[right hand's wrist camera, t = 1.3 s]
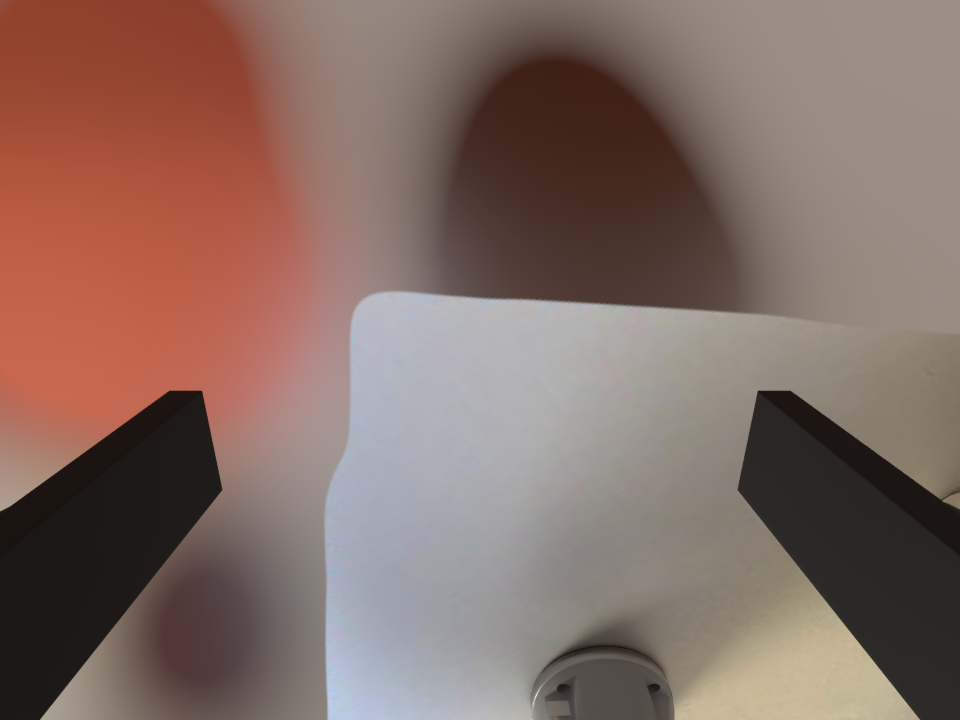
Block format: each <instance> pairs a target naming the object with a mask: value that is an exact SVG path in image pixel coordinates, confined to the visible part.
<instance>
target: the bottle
mask: <svg viewBox="0 0 960 720" xmlns="http://www.w3.org/2000/svg"><path fill="white" fill-rule="evenodd" d="M942 501H943V502H946V503H948V504H950V505H952V506H954V507H956V508H958V509H960V492H959V493H955V494H953V495H950V496H948V497H947V498H945V499H944V500H942Z"/></svg>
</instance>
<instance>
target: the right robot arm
mask: <svg viewBox="0 0 960 720" xmlns="http://www.w3.org/2000/svg"><path fill="white" fill-rule="evenodd" d="M221 491H222V486H221V481H220V476H219V471H218V466H217V461H216V457H215V452H214V447H213V442H212V437H211V432H210V427H209V422H208V417H207V413H206V408H205V403H204V398H203V393H202V391H169V392H167V393H166V394H164V395H163V396H162V397H160V398H159V399H158V400H156V401H155V402H153V403H152V404H151V405H149V406H148V407H147V408H145V409H144V410H142V411H141V412H140V413H138V414H137V415H136V416H134V417H133V418H131V419H130V420H129V421H127V422H126V423H124V424H123V425H122V426H120V427H119V428H118V429H116V430H115V431H114V432H112V433H111V434H109V435H108V436H107V437H105V438H104V439H102V440H101V441H100V442H98V443H97V444H96V445H94V446H93V447H91V448H90V449H89V450H87V451H86V452H85V453H83V454H82V455H80V456H79V457H78V458H76V459H75V460H74V461H72V462H71V463H69V464H68V465H67V466H65V467H64V468H63V469H61V470H60V471H58V472H57V473H56V474H54V475H53V476H52V477H50V478H49V479H47V480H46V481H45V482H43V483H42V484H41V485H39V486H38V487H36V488H35V489H34V490H32V491H31V492H29V493H28V494H27V495H25V496H24V497H23V498H21V499H20V500H18V501H17V502H16V503H14V504H13V505H12V506H10V507H8V508H6V509H4V510H2V511H0V720H40V719H41V718H42V716H43V715H44V714H45V713H46V711H47V710H48V709H49V708H50V706H51V705H52V704H53V703H54V701H55V700H56V699H57V697H58V696H59V695H60V694H61V692H62V691H63V690H64V689H65V687H66V686H67V685H68V684H69V682H70V681H71V680H72V679H73V677H74V676H75V675H76V674H77V672H78V671H79V670H80V669H81V667H82V666H83V665H84V664H85V662H86V661H87V660H88V658H89V657H90V656H91V655H92V653H93V652H94V651H95V650H96V648H97V647H98V646H99V645H100V643H101V642H102V641H103V640H104V638H105V637H106V636H107V634H108V633H109V632H110V631H111V629H112V628H113V627H114V626H115V624H116V623H117V622H118V621H119V619H120V618H121V617H122V616H123V614H124V613H125V612H126V611H127V609H128V608H129V607H130V606H131V604H132V603H133V602H134V601H135V599H136V598H137V597H138V595H139V594H140V593H141V592H142V590H143V589H144V588H145V587H146V585H147V584H148V583H149V582H150V580H151V579H152V578H153V577H154V575H155V574H156V573H157V572H158V570H159V569H160V568H161V567H162V565H163V564H164V563H165V561H166V560H167V559H168V558H169V556H170V555H171V554H172V553H173V551H174V550H175V549H176V548H177V546H178V545H179V544H180V543H181V541H182V540H183V539H184V537H185V536H186V535H187V534H188V532H189V531H190V530H191V529H192V527H193V526H194V525H195V524H196V522H197V521H198V520H199V519H200V517H201V516H202V515H203V514H204V512H205V511H206V510H207V509H208V507H209V506H210V505H211V504H212V502H213V501H214V500H215V498H216V497H217V496H218V495H219V493H220V492H221ZM738 491H739V492H740V493H741V495H742V496H743V497H744V498H745V500H746V501H747V502H748V504H749V505H750V506H751V507H752V509H753V510H754V511H755V512H756V514H757V515H758V516H759V517H760V519H761V520H762V521H763V522H764V524H765V525H766V526H767V527H768V529H769V530H770V531H771V533H772V534H773V535H774V536H775V538H776V539H777V540H778V541H779V543H780V544H781V545H782V546H783V548H784V549H785V550H786V551H787V553H788V554H789V555H790V556H791V558H792V559H793V560H794V561H795V563H796V564H797V565H798V567H799V568H800V569H801V570H802V572H803V573H804V574H805V575H806V577H807V578H808V579H809V580H810V582H811V583H812V584H813V585H814V587H815V588H816V589H817V590H818V592H819V593H820V594H821V595H822V597H823V598H824V599H825V601H826V602H827V603H828V604H829V606H830V607H831V608H832V609H833V611H834V612H835V613H836V614H837V616H838V617H839V618H840V619H841V621H842V622H843V623H844V624H845V626H846V627H847V628H848V630H849V631H850V632H851V633H852V635H853V636H854V637H855V638H856V640H857V641H858V642H859V643H860V645H861V646H862V647H863V648H864V650H865V651H866V652H867V653H868V655H869V656H870V657H871V658H872V660H873V661H874V662H875V664H876V665H877V666H878V667H879V669H880V670H881V671H882V672H883V674H884V675H885V676H886V677H887V679H888V680H889V681H890V682H891V684H892V685H893V686H894V687H895V689H896V690H897V691H898V692H899V694H900V695H901V696H902V698H903V699H904V700H905V701H906V703H907V704H908V705H909V706H910V708H911V709H912V710H913V711H914V713H915V714H916V715H917V716H918V718H919V719H920V720H960V509H958V508H956V507H954V506H952V505H950V504H948V503H946V502H943V501H942V500H940V499H939V498H937V497H936V496H935V495H933V494H932V493H931V492H929V491H928V490H926V489H925V488H924V487H922V486H921V485H920V484H918V483H917V482H915V481H914V480H913V479H911V478H910V477H909V476H907V475H906V474H904V473H903V472H902V471H900V470H899V469H897V468H896V467H895V466H893V465H892V464H891V463H889V462H888V461H886V460H885V459H884V458H882V457H881V456H880V455H878V454H877V453H875V452H874V451H873V450H871V449H870V448H869V447H867V446H866V445H864V444H863V443H862V442H860V441H859V440H858V439H856V438H855V437H853V436H852V435H851V434H849V433H848V432H847V431H845V430H844V429H842V428H841V427H840V426H838V425H837V424H836V423H834V422H833V421H831V420H830V419H829V418H827V417H826V416H825V415H823V414H822V413H820V412H819V411H818V410H816V409H815V408H813V407H812V406H811V405H809V404H808V403H807V402H805V401H804V400H802V399H801V398H800V397H798V396H797V395H796V394H794V393H793V392H791V391H758V393H757V398H756V403H755V408H754V413H753V417H752V422H751V427H750V432H749V437H748V442H747V447H746V452H745V456H744V461H743V466H742V471H741V476H740V481H739V486H738ZM531 706H532V716H533V720H674V704H673V698H672V694H671V691H670V688H669V685H668V682H667V680H666V677H665V675H664V673H663V672H662V670H661V669H660V668H659V667H658V666H657V665H656V664H655V663H654V662H653V661H652V660H650V659H649V658H647V657H646V656H644V655H642V654H640V653H637V652H635V651H632V650H628V649H624V648H618V647H592V648H586V649H582V650H578V651H575V652H572V653H569V654H567V655H565V656H563V657H561V658H559V659H557V660H556V661H554V662H553V663H552V664H550V665H549V666H548V667H547V668H546V669H545V670H544V671H543V672H542V673H541V674H540V675H539V677H538V678H537V680H536V682H535V684H534V686H533V689H532V694H531Z"/></svg>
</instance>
